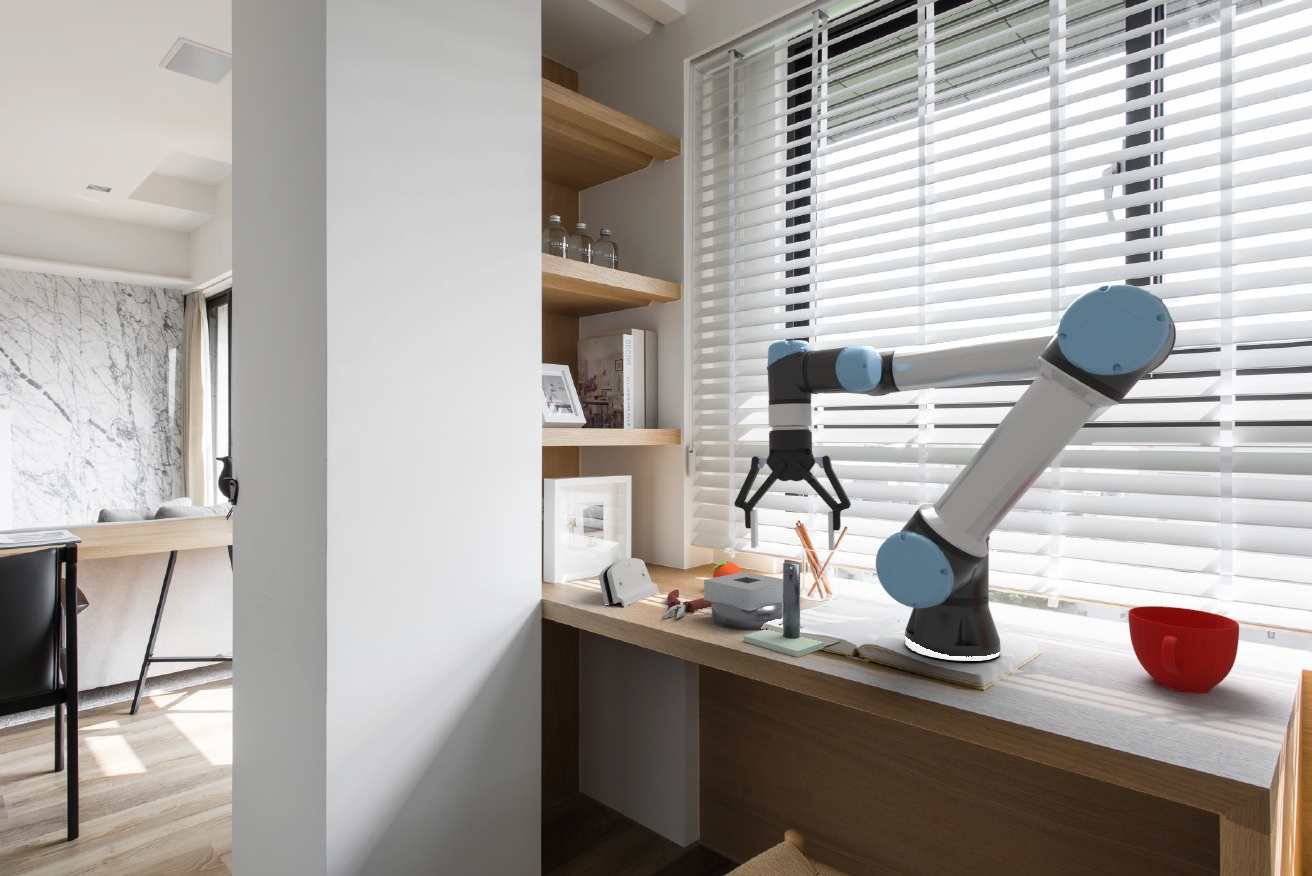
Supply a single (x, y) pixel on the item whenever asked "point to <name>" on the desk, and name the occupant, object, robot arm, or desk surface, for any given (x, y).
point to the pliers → (687, 606)
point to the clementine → (725, 569)
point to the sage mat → (783, 643)
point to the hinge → (626, 582)
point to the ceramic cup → (1183, 646)
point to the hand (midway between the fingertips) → (792, 548)
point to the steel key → (791, 600)
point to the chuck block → (744, 600)
